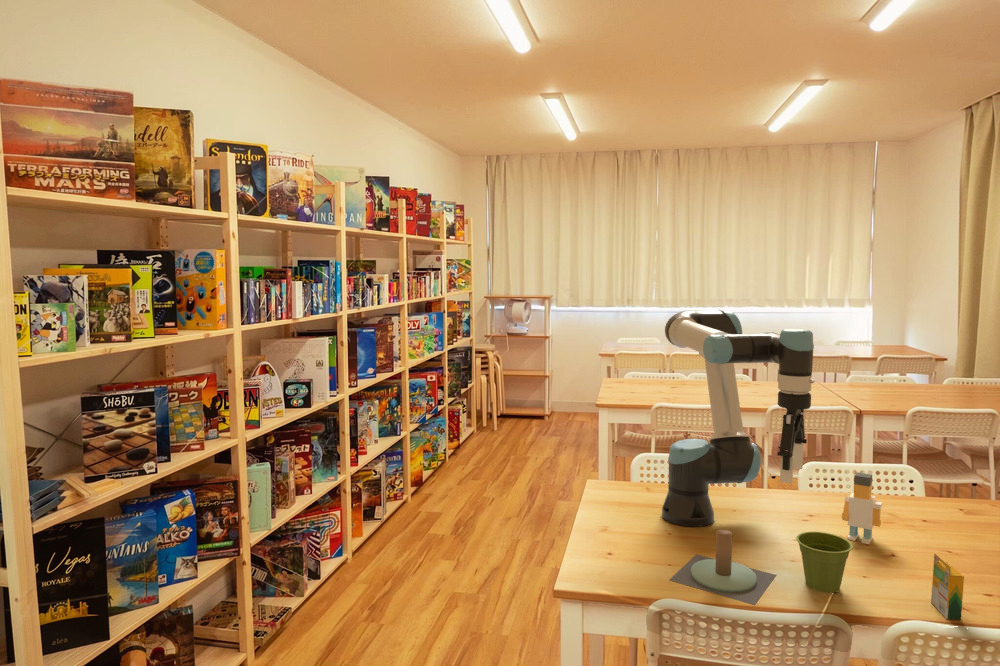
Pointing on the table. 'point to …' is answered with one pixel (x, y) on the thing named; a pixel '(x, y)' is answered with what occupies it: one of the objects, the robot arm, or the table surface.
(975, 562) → the table surface
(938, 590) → the crayon box
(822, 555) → the plant pot
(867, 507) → the character figure
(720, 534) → the lid
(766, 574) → the mat
